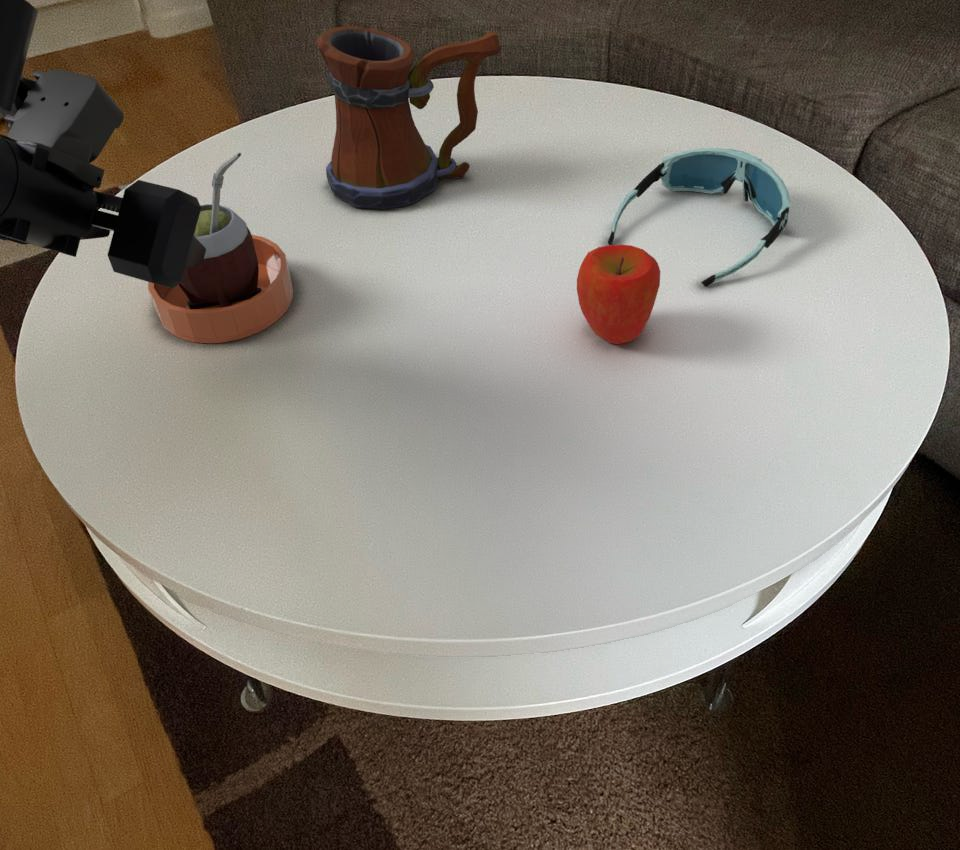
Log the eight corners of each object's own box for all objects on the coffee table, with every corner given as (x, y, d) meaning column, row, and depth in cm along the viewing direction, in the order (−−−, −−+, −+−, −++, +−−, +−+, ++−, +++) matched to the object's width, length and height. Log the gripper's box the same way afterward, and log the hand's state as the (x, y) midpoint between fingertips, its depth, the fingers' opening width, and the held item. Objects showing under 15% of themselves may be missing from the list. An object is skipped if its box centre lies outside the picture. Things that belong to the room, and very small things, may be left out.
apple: (562, 343, 74) (565, 266, 68) (595, 302, 77) (600, 226, 72) (634, 367, 71) (642, 289, 66) (665, 323, 75) (675, 246, 70)
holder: (131, 326, 78) (119, 296, 75) (209, 253, 85) (200, 223, 83) (246, 356, 74) (237, 325, 72) (317, 277, 82) (311, 246, 79)
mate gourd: (183, 285, 81) (130, 126, 70) (272, 268, 82) (233, 110, 71) (186, 336, 75) (130, 172, 65) (281, 317, 77) (241, 154, 66)
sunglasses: (809, 220, 85) (817, 174, 81) (721, 313, 78) (725, 268, 75) (680, 172, 92) (682, 128, 88) (590, 254, 85) (588, 211, 82)
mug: (500, 147, 97) (496, 2, 87) (508, 204, 89) (504, 51, 78) (331, 158, 97) (307, 13, 86) (324, 216, 89) (296, 64, 78)
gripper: (136, 72, 51) (284, 161, 66) (-92, 28, 58) (89, 119, 72) (85, 263, 52) (243, 309, 67) (-136, 199, 58) (53, 255, 73)
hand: (154, 242), depth 70 cm, fingers open, 9 cm apart
